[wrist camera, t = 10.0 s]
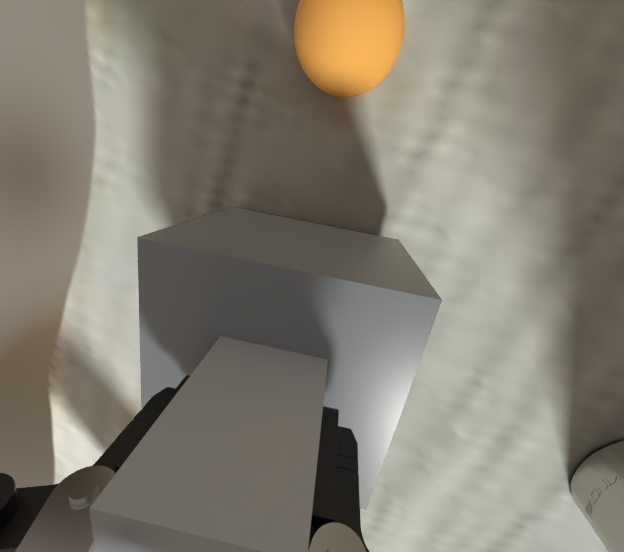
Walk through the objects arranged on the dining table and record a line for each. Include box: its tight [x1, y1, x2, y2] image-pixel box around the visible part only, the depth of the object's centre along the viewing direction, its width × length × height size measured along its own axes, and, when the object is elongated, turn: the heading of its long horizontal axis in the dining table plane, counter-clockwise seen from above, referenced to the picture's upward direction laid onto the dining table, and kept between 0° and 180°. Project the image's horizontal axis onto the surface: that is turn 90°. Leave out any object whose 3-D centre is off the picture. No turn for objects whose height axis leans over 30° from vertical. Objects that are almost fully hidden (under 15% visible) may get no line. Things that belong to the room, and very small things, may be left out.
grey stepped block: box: [89, 207, 442, 552], centre depth 13 cm, size 10×10×15 cm
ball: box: [294, 0, 404, 97], centre depth 14 cm, size 5×5×5 cm
